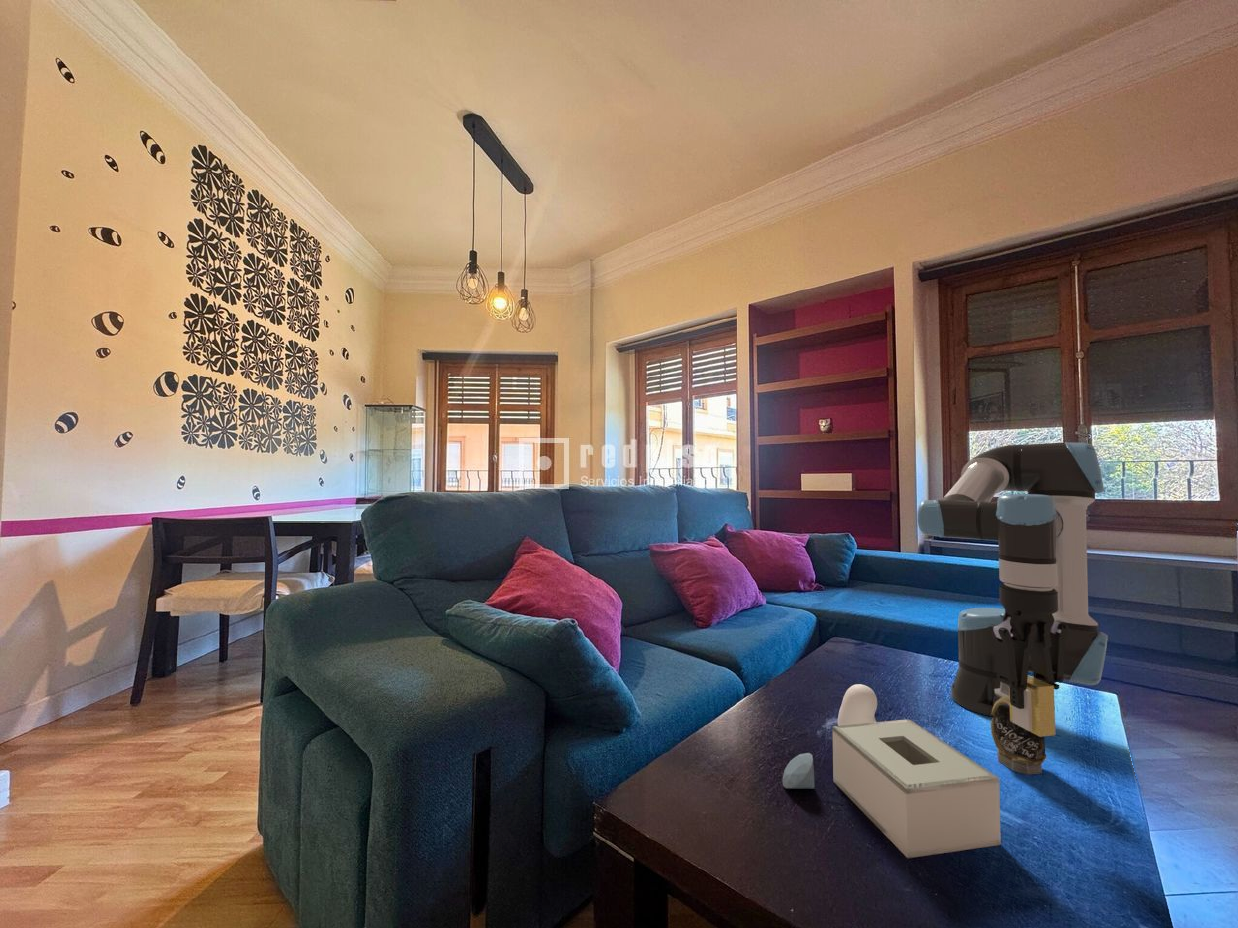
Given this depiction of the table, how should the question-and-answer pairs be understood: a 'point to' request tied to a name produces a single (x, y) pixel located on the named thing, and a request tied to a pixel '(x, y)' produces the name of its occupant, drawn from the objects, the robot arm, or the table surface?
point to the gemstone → (799, 772)
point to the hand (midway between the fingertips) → (1031, 724)
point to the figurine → (858, 706)
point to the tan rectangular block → (1040, 707)
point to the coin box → (916, 787)
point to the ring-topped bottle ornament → (1015, 738)
